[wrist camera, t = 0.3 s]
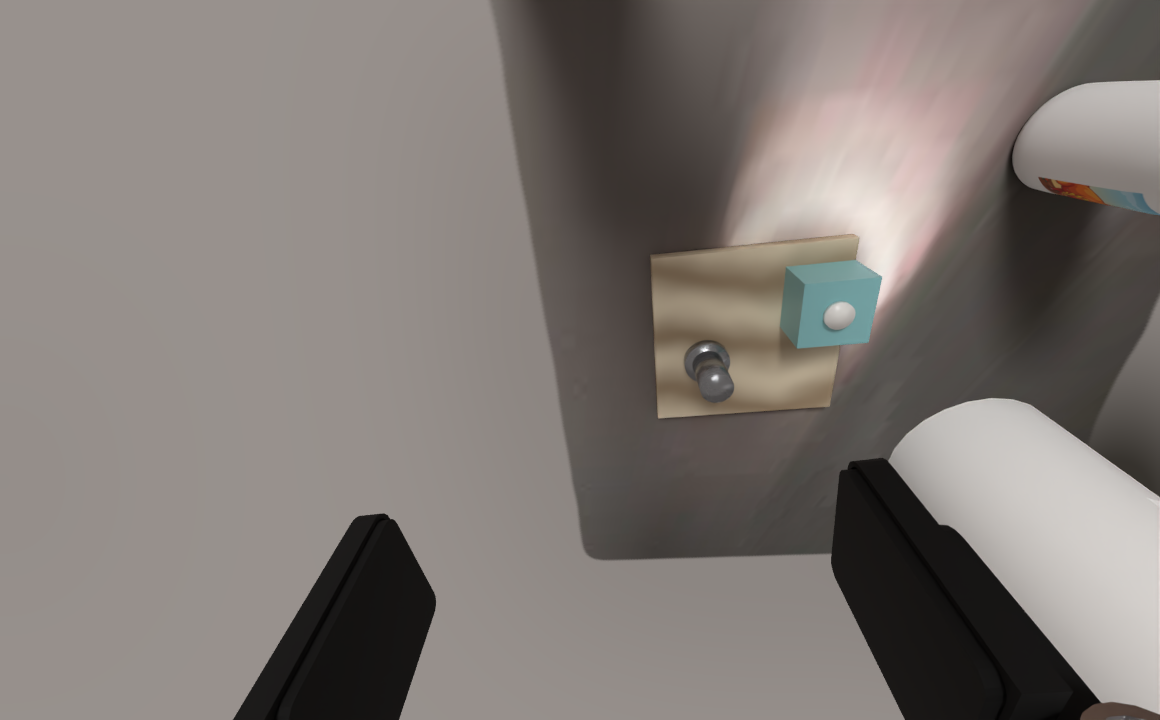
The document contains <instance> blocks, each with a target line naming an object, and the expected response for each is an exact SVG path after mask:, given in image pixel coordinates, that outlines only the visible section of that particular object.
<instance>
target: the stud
mask: <svg viewBox="0 0 1160 720" xmlns="http://www.w3.org/2000/svg"><path fill="white" fill-rule="evenodd" d="M684 366H685V370H686V372H687V374H688V376H689V377H690V378H691V379H693V380H694V381H697V383H698V386H699V389H700V392H701V395H702V397H703V398H704V399H705V400H707V401H709V402H712V403H719V402H723V401H725V400H727V399H728V398H729V397H730V396H731V395H732V394H733V392H734V383H733V381H732V379H731V377H730V374H729V372H728V369H729V367H730V357H729V355H728V353H727V351H726V349H725V347H724V346H723V345H722V344H720V343H719V342H716V341H713V340H703V341H700V342H697V343H695V344H693V345H692V346H691V347H690V348H689V349H688V350H687V351H686V353H685V356H684Z"/></svg>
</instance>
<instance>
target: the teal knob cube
mask: <svg viewBox="0 0 1160 720" xmlns="http://www.w3.org/2000/svg"><path fill="white" fill-rule="evenodd" d="M881 280H882V277H881V276H880V275H878V274H877V273H875V272H874V271H872V270H871V269H869V268H867V267H866V266H864V265H863V264H861V263H860V262H858V261H856V260H849V261H839V262H829V263H819V264H809V265H798V266H788V267H786V271H785V281H784V290H783V300H782V310H781V319H780V327H781V329H782V330H783V331H784V333H785V334H786V335H787V337H788V338H789V339H790V340H791V342H792V343H793V344H794V346H795V347H796V348H810V347H822V346H834V345H846V344H858V343H868V342H869V337H870V332H871V328H872V323H873V318H874V313H875V309H876V304H877V299H878V294H879V290H880V285H881Z"/></svg>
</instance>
